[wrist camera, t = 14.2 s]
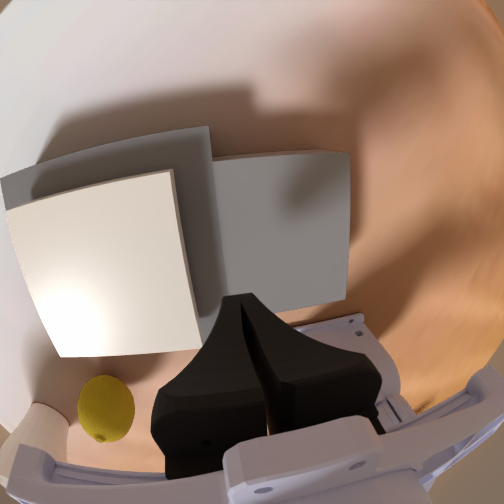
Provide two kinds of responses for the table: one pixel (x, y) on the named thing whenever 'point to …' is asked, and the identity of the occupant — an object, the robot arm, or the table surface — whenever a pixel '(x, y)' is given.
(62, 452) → the cup
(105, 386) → the lemon
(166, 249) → the cream square tile
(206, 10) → the table surface
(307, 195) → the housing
